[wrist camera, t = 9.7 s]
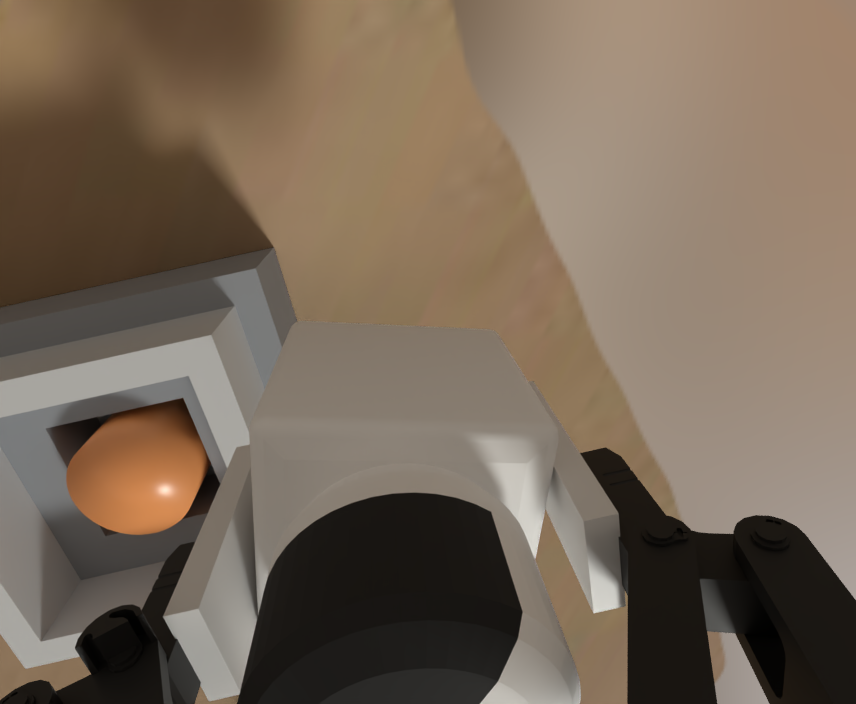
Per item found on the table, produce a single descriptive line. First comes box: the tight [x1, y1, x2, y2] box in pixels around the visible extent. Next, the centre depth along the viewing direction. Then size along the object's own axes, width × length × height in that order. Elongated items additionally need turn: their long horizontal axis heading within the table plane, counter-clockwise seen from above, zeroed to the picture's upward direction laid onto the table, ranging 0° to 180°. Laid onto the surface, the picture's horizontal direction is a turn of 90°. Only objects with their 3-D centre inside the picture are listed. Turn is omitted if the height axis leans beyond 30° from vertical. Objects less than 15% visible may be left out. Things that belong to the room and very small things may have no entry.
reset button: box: [66, 398, 211, 535], centre depth 29 cm, size 6×6×5 cm
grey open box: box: [0, 247, 297, 669], centre depth 29 cm, size 18×18×9 cm
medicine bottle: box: [237, 321, 581, 704], centre depth 14 cm, size 7×7×12 cm
